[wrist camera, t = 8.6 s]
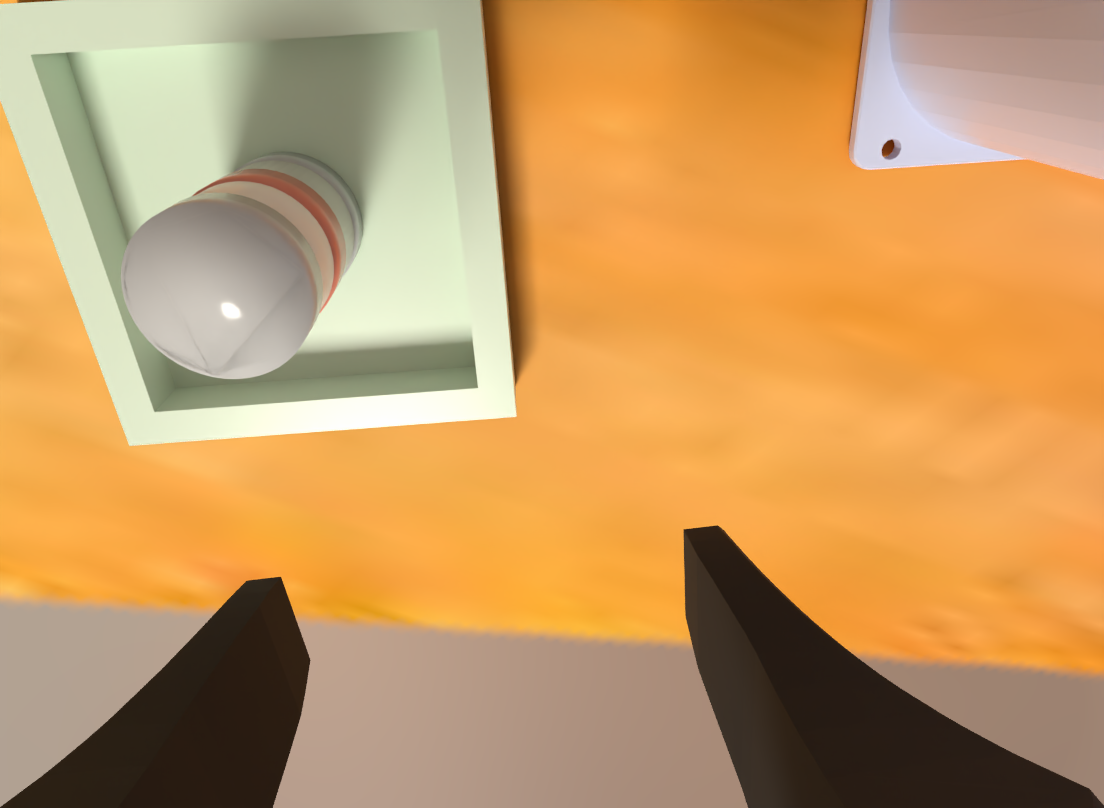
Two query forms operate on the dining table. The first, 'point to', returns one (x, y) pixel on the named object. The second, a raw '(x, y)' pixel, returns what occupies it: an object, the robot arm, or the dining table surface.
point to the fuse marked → (243, 265)
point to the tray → (261, 128)
